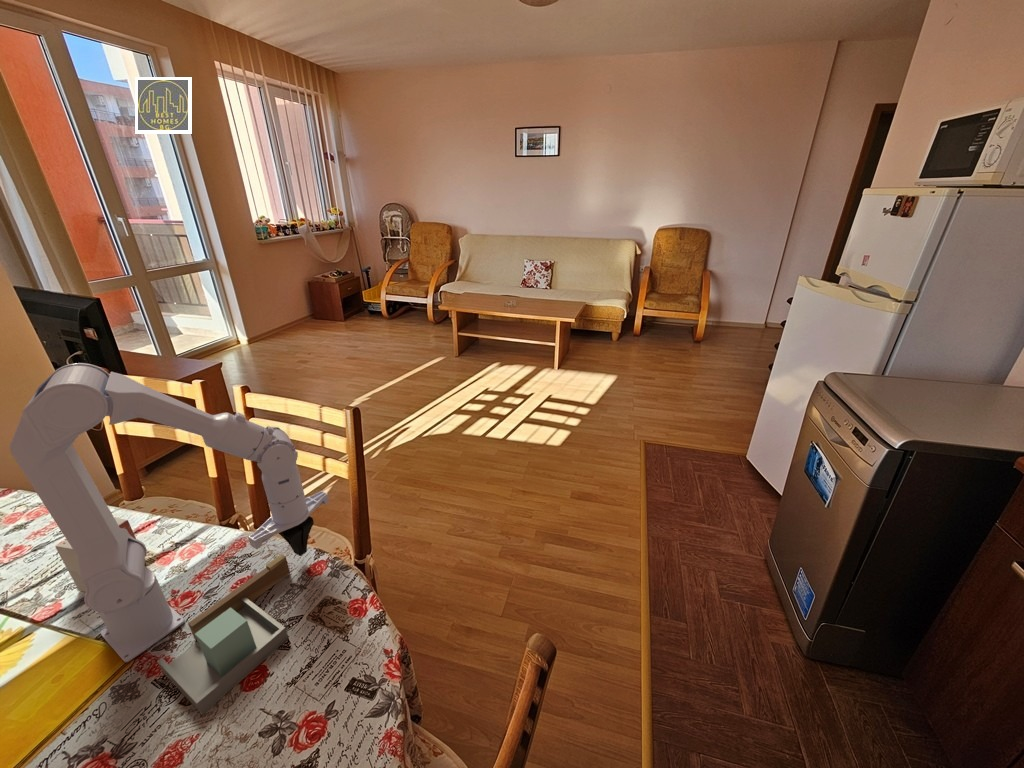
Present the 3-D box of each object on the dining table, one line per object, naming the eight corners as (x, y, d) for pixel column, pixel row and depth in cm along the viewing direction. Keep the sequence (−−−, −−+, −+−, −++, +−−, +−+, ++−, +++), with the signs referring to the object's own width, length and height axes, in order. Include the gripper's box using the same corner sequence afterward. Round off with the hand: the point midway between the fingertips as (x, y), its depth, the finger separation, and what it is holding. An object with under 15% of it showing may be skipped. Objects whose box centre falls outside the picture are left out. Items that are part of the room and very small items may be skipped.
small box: (103, 597, 74) (79, 551, 69) (78, 591, 75) (52, 546, 70) (148, 562, 81) (128, 518, 77) (124, 557, 82) (104, 514, 78)
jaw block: (206, 661, 63) (194, 633, 60) (240, 634, 67) (230, 607, 64) (222, 676, 61) (210, 648, 58) (256, 647, 65) (247, 620, 62)
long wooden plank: (194, 638, 66) (186, 620, 65) (286, 570, 79) (281, 554, 77) (198, 642, 66) (190, 624, 64) (290, 572, 78) (285, 556, 77)
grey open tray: (162, 672, 62) (156, 660, 61) (248, 606, 72) (244, 596, 71) (202, 715, 57) (196, 703, 56) (288, 638, 67) (285, 627, 66)
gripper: (307, 467, 82) (319, 521, 88) (230, 509, 71) (250, 569, 76) (331, 478, 79) (342, 534, 84) (255, 524, 68) (273, 586, 73)
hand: (300, 552), depth 80 cm, fingers closed
